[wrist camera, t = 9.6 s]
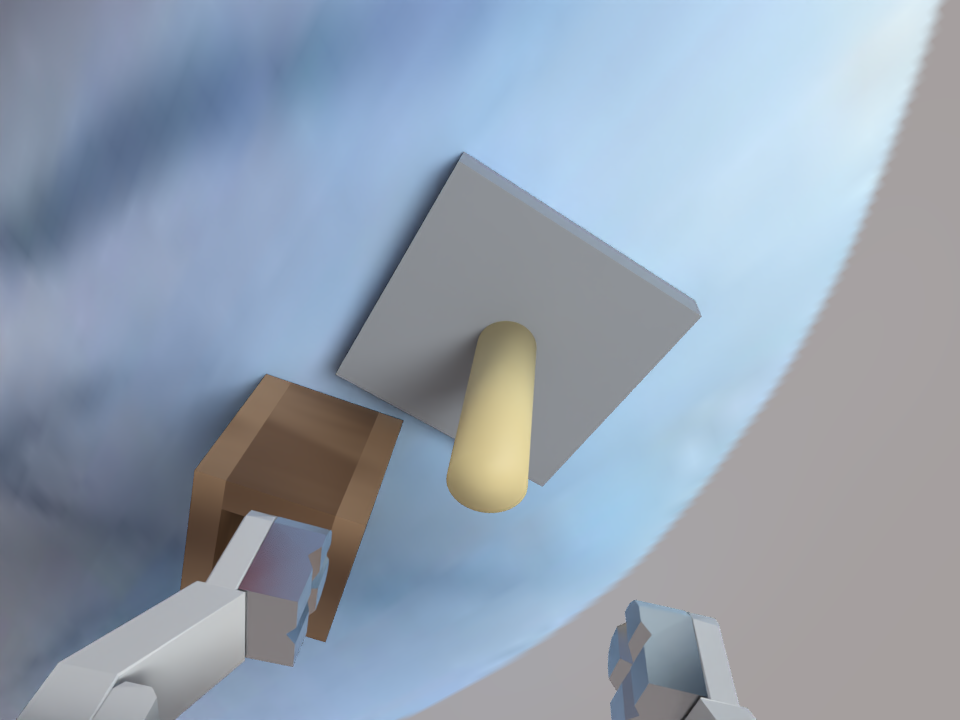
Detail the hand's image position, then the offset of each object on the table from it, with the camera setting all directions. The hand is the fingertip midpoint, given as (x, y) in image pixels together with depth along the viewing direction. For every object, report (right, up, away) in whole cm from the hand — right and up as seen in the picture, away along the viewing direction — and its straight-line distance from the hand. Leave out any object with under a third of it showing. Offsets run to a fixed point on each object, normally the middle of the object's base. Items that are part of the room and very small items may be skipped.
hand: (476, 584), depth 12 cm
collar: (-6, 0, +12) cm, 13 cm away
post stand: (+1, +5, +8) cm, 10 cm away
